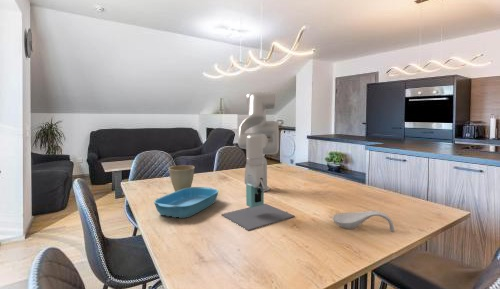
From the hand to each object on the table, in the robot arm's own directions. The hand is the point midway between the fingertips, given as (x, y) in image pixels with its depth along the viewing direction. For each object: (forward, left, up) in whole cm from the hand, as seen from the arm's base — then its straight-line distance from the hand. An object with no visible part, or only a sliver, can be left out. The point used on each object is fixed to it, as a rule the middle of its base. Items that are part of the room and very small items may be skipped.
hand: (255, 200), depth 133 cm
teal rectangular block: (0, 0, -2) cm, 2 cm away
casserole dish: (-28, -21, -8) cm, 36 cm away
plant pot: (-54, -14, -7) cm, 56 cm away
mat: (+2, 0, -7) cm, 7 cm away
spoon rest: (+38, +28, -8) cm, 47 cm away
